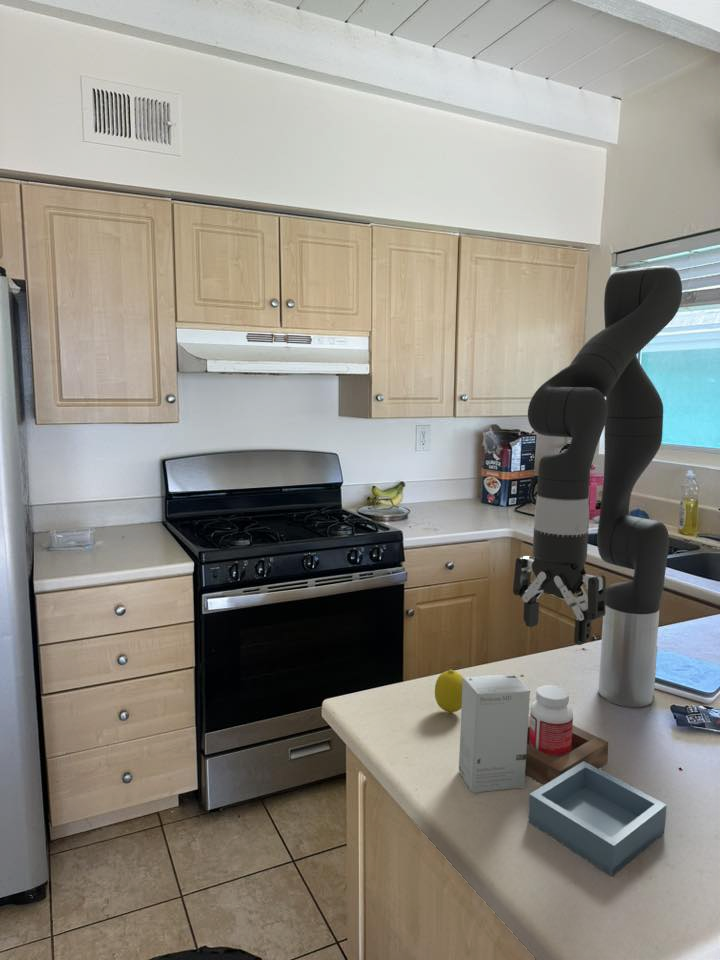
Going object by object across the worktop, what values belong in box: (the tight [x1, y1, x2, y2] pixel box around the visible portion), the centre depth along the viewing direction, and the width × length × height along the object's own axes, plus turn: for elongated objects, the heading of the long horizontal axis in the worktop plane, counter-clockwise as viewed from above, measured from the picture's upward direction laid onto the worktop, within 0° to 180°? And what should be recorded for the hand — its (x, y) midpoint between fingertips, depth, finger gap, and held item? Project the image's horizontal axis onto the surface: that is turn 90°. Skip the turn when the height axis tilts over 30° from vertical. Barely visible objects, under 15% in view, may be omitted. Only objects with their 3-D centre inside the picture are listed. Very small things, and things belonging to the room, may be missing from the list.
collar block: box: [525, 716, 610, 786], centre depth 99 cm, size 12×12×4 cm
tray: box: [528, 761, 668, 877], centre depth 84 cm, size 12×12×4 cm
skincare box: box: [458, 674, 531, 794], centre depth 93 cm, size 8×6×15 cm
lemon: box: [434, 669, 464, 715], centre depth 112 cm, size 6×6×8 cm
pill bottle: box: [529, 684, 574, 760], centre depth 98 cm, size 6×6×11 cm
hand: (555, 634), depth 96 cm, fingers open, 8 cm apart
